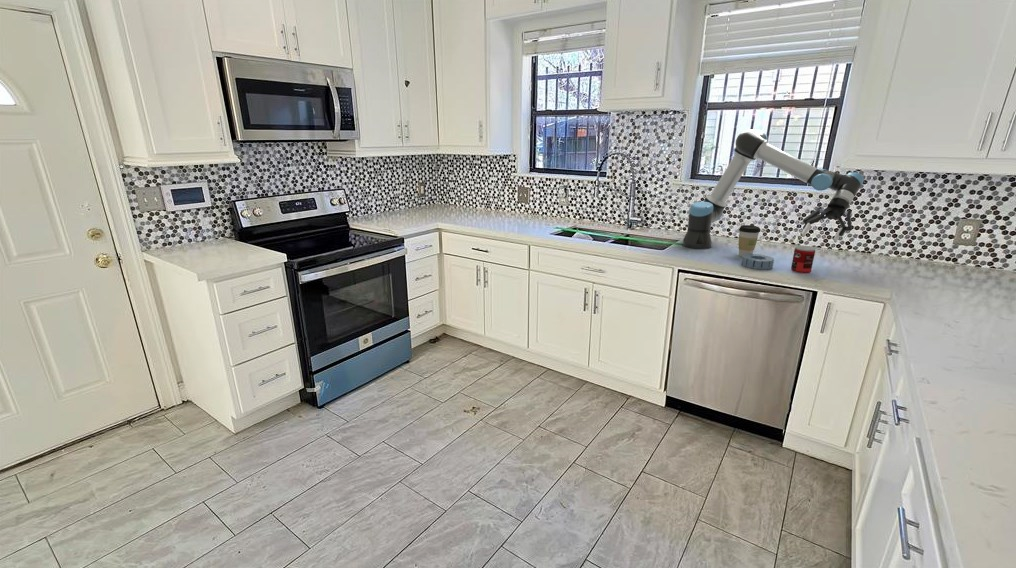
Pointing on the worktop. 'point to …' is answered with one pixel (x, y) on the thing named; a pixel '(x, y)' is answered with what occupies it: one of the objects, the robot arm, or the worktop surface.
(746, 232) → the coffee cup
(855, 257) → the worktop surface
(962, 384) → the worktop surface
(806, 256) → the canned food
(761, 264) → the grey notched ring
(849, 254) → the worktop surface
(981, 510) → the worktop surface
